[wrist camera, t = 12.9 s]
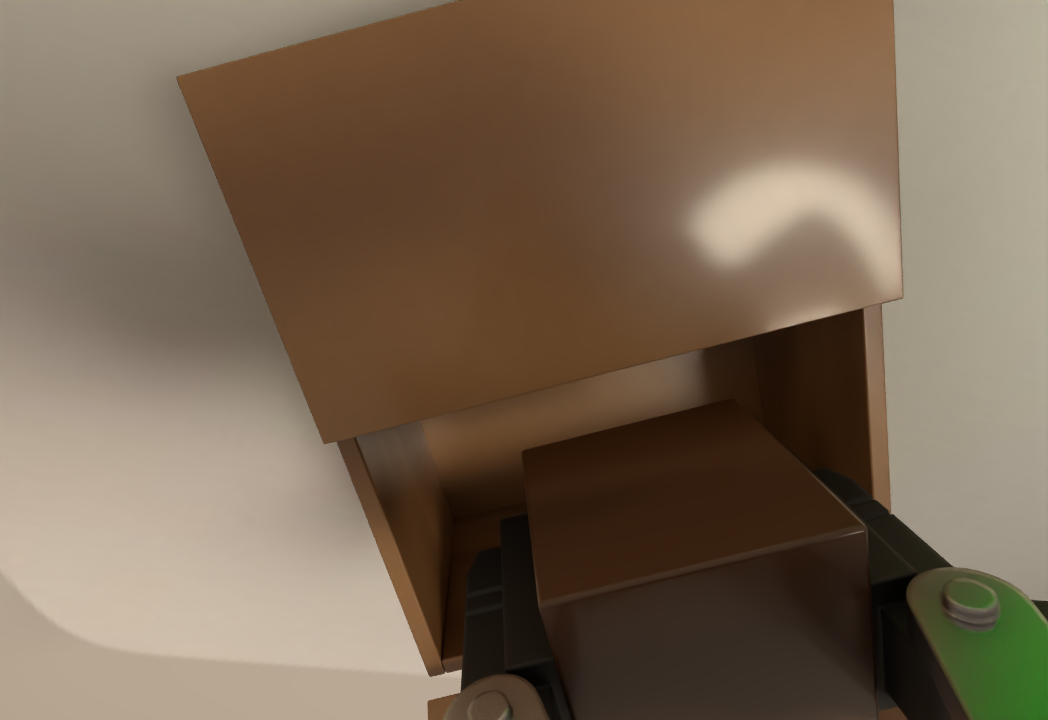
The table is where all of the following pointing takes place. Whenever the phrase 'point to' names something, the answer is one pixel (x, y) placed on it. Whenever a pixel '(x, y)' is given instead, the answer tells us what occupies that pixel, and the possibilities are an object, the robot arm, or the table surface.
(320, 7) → the table surface
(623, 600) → the block
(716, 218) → the carton
